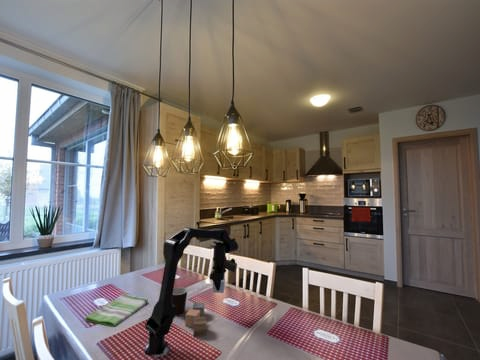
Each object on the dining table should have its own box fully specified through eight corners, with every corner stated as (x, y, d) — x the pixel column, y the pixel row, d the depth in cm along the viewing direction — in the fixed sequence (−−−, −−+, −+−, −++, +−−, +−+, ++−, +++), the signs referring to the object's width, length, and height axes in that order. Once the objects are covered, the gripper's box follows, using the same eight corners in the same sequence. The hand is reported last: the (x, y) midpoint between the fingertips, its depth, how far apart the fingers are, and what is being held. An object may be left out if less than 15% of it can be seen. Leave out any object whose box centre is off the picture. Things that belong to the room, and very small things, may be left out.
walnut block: (205, 335, 94) (206, 323, 94) (193, 336, 93) (193, 324, 93) (205, 328, 99) (206, 316, 99) (194, 329, 98) (194, 317, 98)
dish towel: (148, 303, 121) (149, 296, 121) (115, 328, 99) (115, 319, 99) (121, 299, 125) (121, 292, 125) (83, 322, 103) (83, 314, 103)
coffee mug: (182, 317, 107) (182, 295, 107) (165, 315, 109) (165, 293, 109) (192, 305, 118) (192, 285, 119) (176, 303, 120) (177, 284, 120)
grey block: (203, 318, 107) (203, 307, 107) (192, 318, 106) (192, 307, 107) (204, 312, 112) (204, 302, 112) (193, 313, 111) (194, 302, 112)
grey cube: (223, 292, 107) (223, 282, 107) (212, 292, 107) (213, 281, 107) (224, 288, 112) (224, 278, 112) (214, 288, 112) (214, 277, 112)
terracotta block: (196, 327, 99) (196, 316, 99) (185, 326, 100) (185, 314, 100) (200, 321, 104) (200, 310, 104) (189, 320, 105) (189, 309, 105)
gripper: (235, 261, 101) (234, 297, 100) (237, 250, 119) (236, 281, 118) (209, 260, 101) (209, 296, 100) (216, 250, 120) (215, 280, 119)
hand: (218, 288), depth 109 cm, fingers closed on grey cube, 5 cm apart
